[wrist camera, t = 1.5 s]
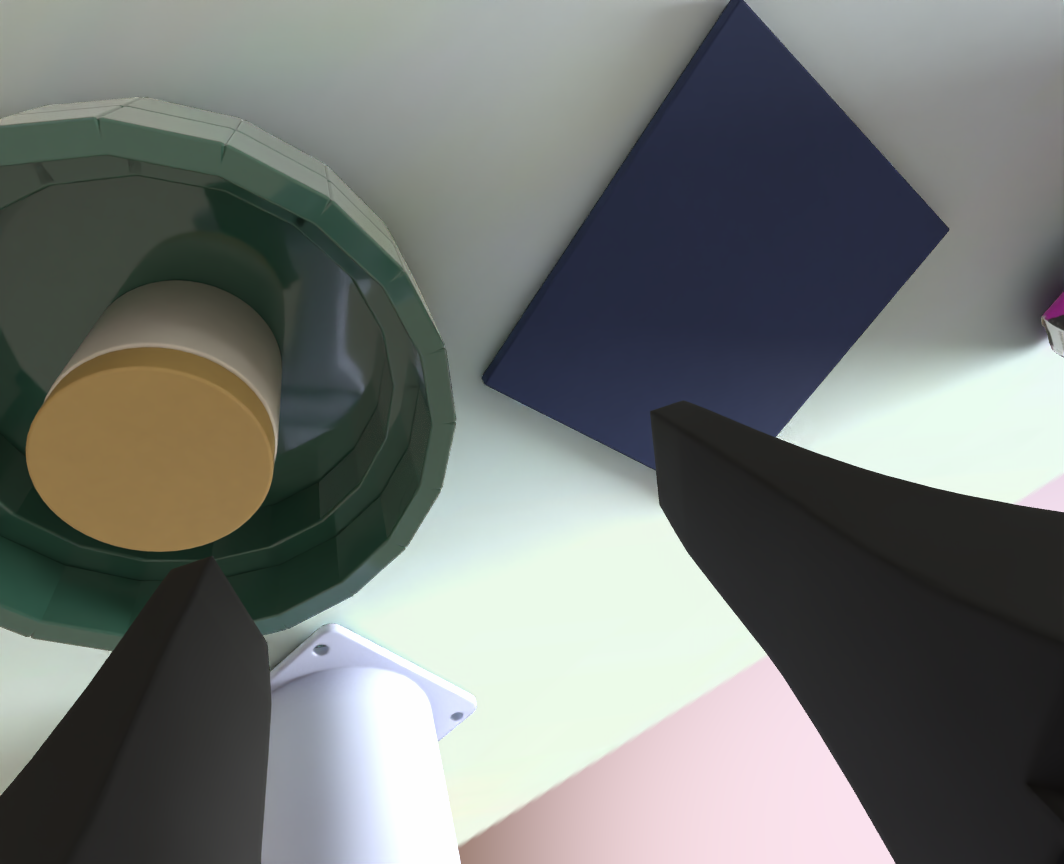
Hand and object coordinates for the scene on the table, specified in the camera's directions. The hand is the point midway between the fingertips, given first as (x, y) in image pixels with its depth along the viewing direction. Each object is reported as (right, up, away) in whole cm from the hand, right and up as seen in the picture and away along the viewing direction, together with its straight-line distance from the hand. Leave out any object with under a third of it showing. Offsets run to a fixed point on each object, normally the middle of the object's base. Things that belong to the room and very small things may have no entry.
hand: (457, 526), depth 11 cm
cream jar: (-8, +3, +6) cm, 10 cm away
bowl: (-8, +4, +7) cm, 11 cm away
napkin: (+7, +6, +11) cm, 14 cm away
